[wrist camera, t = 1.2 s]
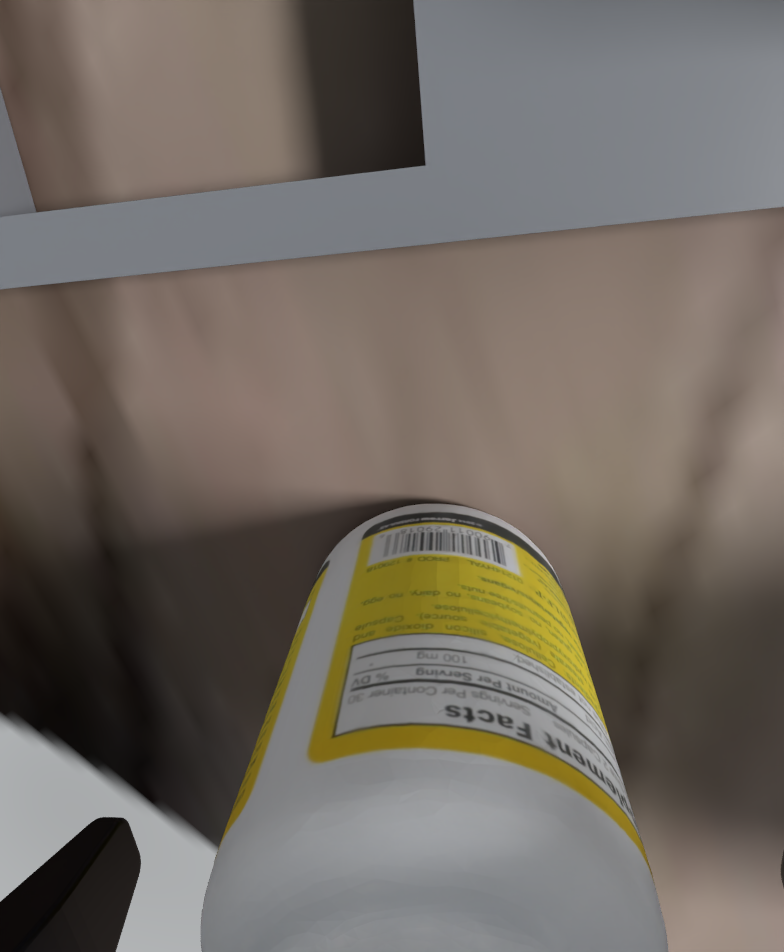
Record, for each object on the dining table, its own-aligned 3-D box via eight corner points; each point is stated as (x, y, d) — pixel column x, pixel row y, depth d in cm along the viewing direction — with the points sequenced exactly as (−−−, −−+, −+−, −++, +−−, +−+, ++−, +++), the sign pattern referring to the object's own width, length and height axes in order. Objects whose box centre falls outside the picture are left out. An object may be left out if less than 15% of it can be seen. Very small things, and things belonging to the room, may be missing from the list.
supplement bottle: (419, 741, 15) (365, 1512, 6) (265, 585, 14) (-88, 1278, 5) (617, 633, 13) (944, 1480, 4) (464, 443, 12) (487, 1099, 3)
